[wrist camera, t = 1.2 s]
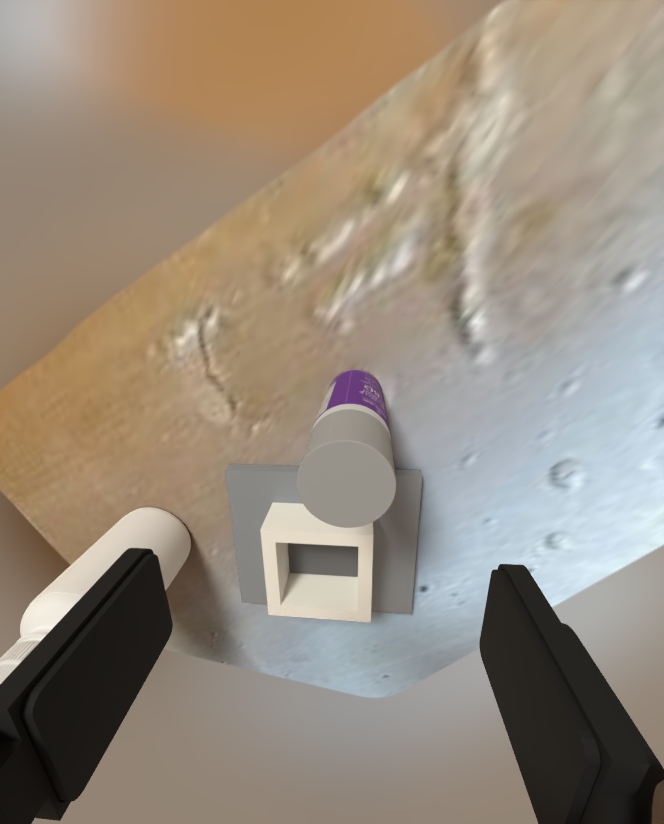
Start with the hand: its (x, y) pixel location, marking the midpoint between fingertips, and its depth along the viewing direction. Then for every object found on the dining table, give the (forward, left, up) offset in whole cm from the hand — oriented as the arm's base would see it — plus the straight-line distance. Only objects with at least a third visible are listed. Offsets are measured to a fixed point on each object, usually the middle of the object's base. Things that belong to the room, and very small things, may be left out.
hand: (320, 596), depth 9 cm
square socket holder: (+3, +15, -21) cm, 26 cm away
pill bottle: (+21, +16, -21) cm, 33 cm away
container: (0, 0, -21) cm, 21 cm away
